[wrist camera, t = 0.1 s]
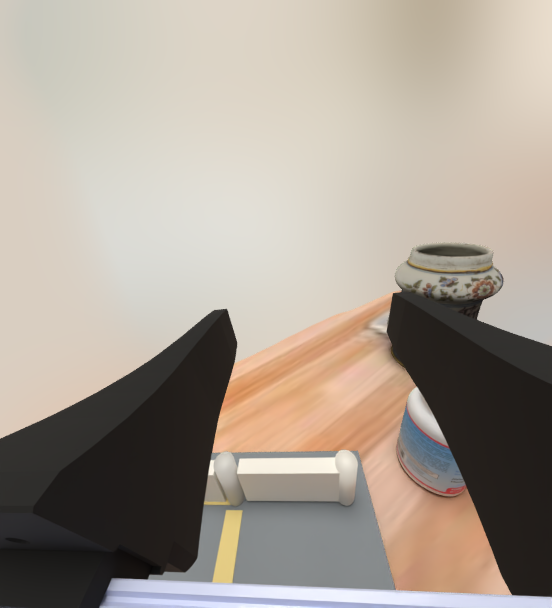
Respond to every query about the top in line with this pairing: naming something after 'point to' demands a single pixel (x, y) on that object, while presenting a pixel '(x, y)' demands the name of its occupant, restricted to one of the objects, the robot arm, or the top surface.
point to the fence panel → (300, 478)
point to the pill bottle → (427, 450)
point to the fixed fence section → (224, 481)
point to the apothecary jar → (450, 276)
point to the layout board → (291, 540)
